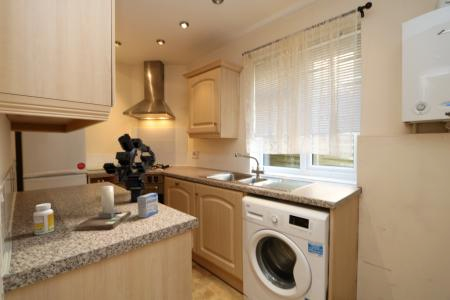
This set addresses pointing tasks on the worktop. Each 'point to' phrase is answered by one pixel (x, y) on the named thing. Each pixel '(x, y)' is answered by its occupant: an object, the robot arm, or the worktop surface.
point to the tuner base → (103, 222)
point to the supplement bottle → (43, 219)
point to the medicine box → (147, 205)
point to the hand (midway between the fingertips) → (120, 182)
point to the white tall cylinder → (107, 202)
